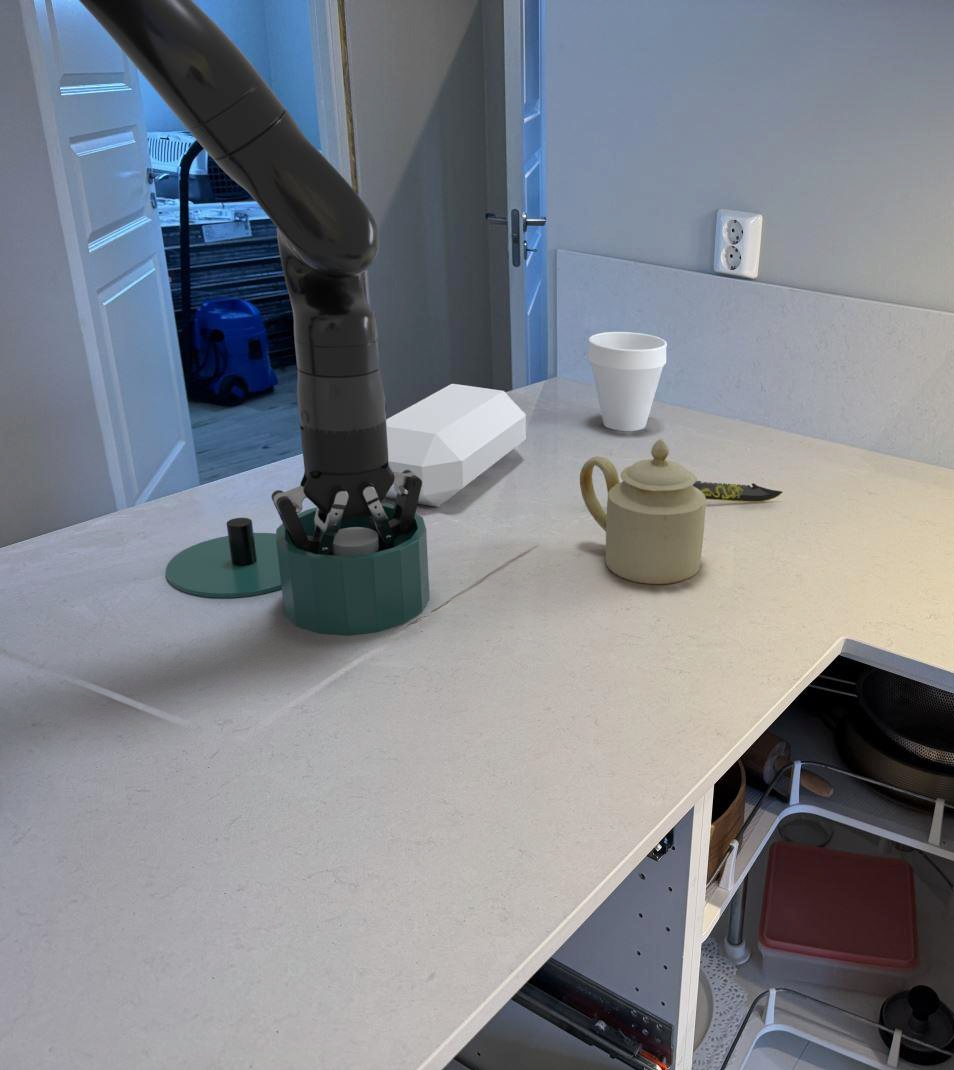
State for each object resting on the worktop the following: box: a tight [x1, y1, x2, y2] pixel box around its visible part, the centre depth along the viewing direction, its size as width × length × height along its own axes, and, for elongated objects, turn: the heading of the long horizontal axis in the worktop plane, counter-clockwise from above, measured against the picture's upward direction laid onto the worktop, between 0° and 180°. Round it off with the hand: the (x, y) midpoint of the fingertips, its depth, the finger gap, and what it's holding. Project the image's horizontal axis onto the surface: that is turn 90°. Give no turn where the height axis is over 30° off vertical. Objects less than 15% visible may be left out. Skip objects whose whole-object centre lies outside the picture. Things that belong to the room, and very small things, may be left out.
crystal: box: [384, 383, 527, 508], centre depth 131 cm, size 14×10×28 cm
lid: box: [165, 517, 282, 599], centre depth 103 cm, size 15×15×6 cm
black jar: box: [331, 527, 379, 556], centre depth 98 cm, size 5×5×6 cm
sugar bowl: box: [579, 438, 707, 585], centre depth 110 cm, size 15×11×15 cm
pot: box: [275, 502, 431, 637], centre depth 98 cm, size 14×14×8 cm
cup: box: [587, 331, 668, 432], centre depth 157 cm, size 12×12×14 cm
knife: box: [693, 480, 784, 503], centre depth 130 cm, size 23×2×5 cm, turn 107°
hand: (356, 578), depth 98 cm, fingers closed on black jar, 4 cm apart
